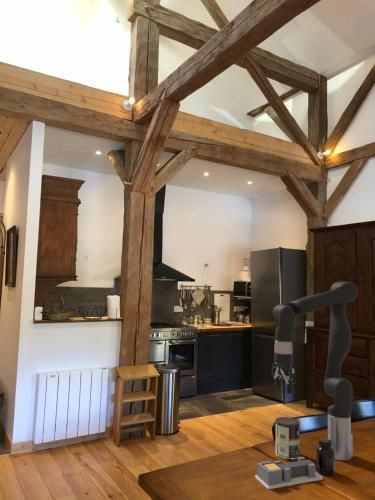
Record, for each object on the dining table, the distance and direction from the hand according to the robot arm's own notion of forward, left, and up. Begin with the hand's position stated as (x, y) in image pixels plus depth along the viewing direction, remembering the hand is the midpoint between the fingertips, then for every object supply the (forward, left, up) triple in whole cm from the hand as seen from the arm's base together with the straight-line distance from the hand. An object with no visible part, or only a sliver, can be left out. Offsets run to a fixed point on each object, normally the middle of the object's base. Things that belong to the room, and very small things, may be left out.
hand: (283, 390), depth 164 cm
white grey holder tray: (+7, +14, -28) cm, 32 cm away
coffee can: (-5, -4, -28) cm, 29 cm away
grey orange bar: (+7, +14, -27) cm, 31 cm away
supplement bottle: (-10, +14, -28) cm, 33 cm away
